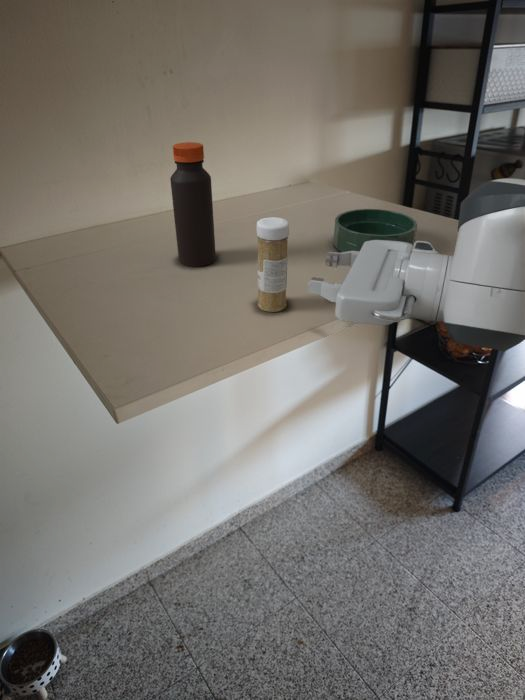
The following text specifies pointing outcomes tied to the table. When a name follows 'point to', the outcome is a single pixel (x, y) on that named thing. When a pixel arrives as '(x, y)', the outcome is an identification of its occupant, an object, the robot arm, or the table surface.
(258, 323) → the table surface
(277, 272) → the sprinkles bottle
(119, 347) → the table surface
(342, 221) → the green faceted bowl
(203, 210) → the vinegar
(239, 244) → the table surface
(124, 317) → the table surface
